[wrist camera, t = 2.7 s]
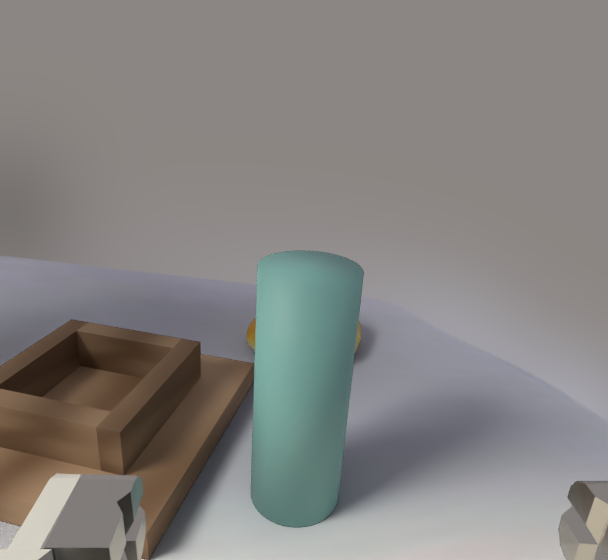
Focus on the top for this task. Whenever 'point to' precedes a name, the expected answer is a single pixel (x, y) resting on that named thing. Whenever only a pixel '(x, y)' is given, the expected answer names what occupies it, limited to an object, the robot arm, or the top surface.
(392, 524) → the top surface
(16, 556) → the robot arm
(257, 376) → the teal post
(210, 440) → the walnut base
